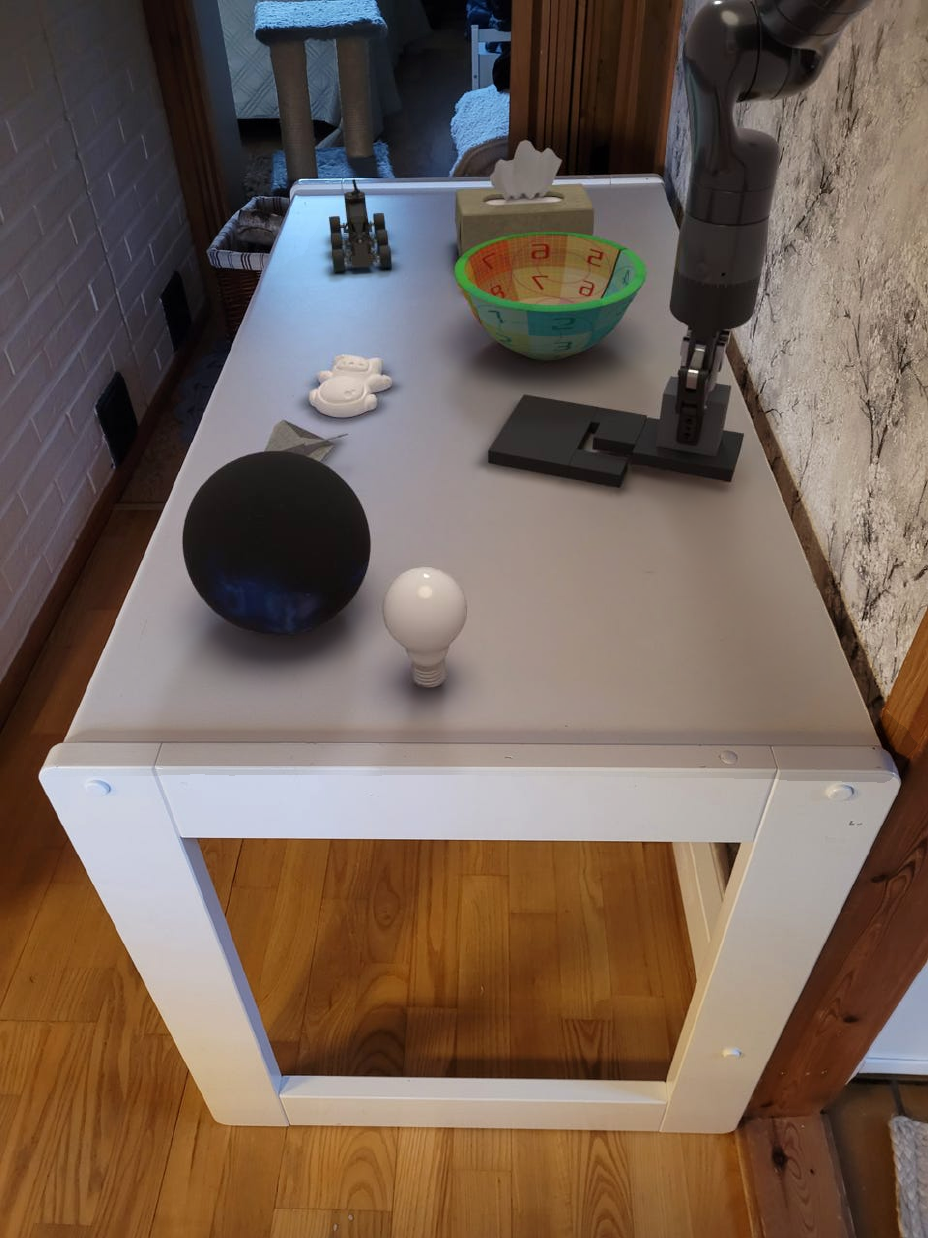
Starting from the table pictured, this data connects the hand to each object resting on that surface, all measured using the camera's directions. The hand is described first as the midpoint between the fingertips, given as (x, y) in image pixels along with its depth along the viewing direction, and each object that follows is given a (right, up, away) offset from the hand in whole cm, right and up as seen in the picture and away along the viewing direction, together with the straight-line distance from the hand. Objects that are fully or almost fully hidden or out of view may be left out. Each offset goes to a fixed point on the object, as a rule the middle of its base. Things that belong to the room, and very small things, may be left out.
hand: (691, 431), depth 95 cm
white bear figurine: (-36, +8, +16) cm, 40 cm away
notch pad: (-12, 0, +6) cm, 13 cm away
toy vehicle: (-38, +35, +45) cm, 68 cm away
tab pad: (-2, -2, +2) cm, 4 cm away
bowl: (-13, +15, +22) cm, 30 cm away
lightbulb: (-26, -24, -19) cm, 40 cm away
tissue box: (-14, +34, +43) cm, 56 cm away
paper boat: (-39, -4, +3) cm, 39 cm away
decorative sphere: (-38, -18, -12) cm, 44 cm away
